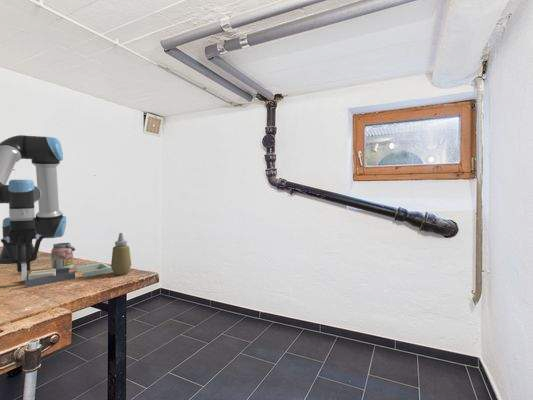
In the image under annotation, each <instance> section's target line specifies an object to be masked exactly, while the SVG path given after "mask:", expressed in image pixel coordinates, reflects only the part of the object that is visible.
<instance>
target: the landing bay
mask: <svg viewBox="0 0 533 400" xmlns="http://www.w3.org/2000/svg"><path fill="white" fill-rule="evenodd" d="M90 269H91V270H90ZM84 270H85V271H84ZM78 271H79V272H82V277H83V278H87V277H92V276H97V275H98V276H99V275H102V274H103V275H104V274H108V273H113V270H112V268H111V265H108V264H106V263H104V262H99V263H91V264H86V265H81V266H76V267H75V273H79V272H78Z"/></svg>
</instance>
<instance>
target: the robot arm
mask: <svg viewBox="0 0 533 400" xmlns="http://www.w3.org/2000/svg"><path fill="white" fill-rule="evenodd" d="M20 160H31V164H32V165H33V166H34V167H35V172H36V173H35V174H36V175H35V177H36V185H35V184H34V183H35V182H34V180H32V179H10V180H9V178H10V176H11V173H12V172H13V170H14V167H15V165H16V163H17V162H19V161H20ZM63 160H64V153H63V148H62V143H61V142H60V140H59V139H58V138H56V137H52V136H51V137H50V136H40V135H39V136H37V135H23V134H20V135H13V136H11V137H8V138H5V140H3V141H1V142H0V204H8V206H9V207H8V208H9V209H8V213H9V215H8V217H5V218H3V220H2V226H1V229H2V238H0V242H1V243H2V249H1V251H0V264H16V271H17V272H18V273H20V280H22V281H24V280H27V274H28V271H30V270H31V262H33V261H36V260H37V258H38V253H39V249H40V245H41V243H42V241H43V240H44V239H56V238H62V237H64V235H65V230H66V226H67V216H66V215H64V214H63V211H61V210H60V206H59V203H60V202H59V189H58V173H57V167H58V166H59V165H60V164H61V161H63ZM7 183H8V184H7ZM36 202H37V203H38V211H37V213H36V212H35V203H36ZM35 213H36V214H35ZM33 240H35V244H33ZM30 272H31V271H30ZM22 281H21V282H22Z"/></svg>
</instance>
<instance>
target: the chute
mask: <svg viewBox="0 0 533 400" xmlns="http://www.w3.org/2000/svg"><path fill="white" fill-rule="evenodd" d="M29 274H30V273H27V280H24V281H22V280H21V279H20V280H21V282H22V283H24V288H31V287H37V286H42V285H47V284H52V283H58V282H62V281H68V280H73V279H76V271H72V272H70V270H69V268H63V269H57V270H56V275H54V276H48V277H42V278H37V279H31V280H28V275H29Z"/></svg>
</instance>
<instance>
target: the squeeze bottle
mask: <svg viewBox="0 0 533 400" xmlns="http://www.w3.org/2000/svg"><path fill="white" fill-rule="evenodd" d="M124 238H125V237H124V235H123V232H119V234H118V238H117V240H116V241H114V246H113V247H112V254H111V262H110V263H111V264H110V267H111V268H112V273H113V274H114V275H115V276H123V275H124V276H125V275H127V274H129V273H130V270H131V267H132V259H131V252H130V251H131V250H130V246H129V245H128V241H127V240H125V239H124Z"/></svg>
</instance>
